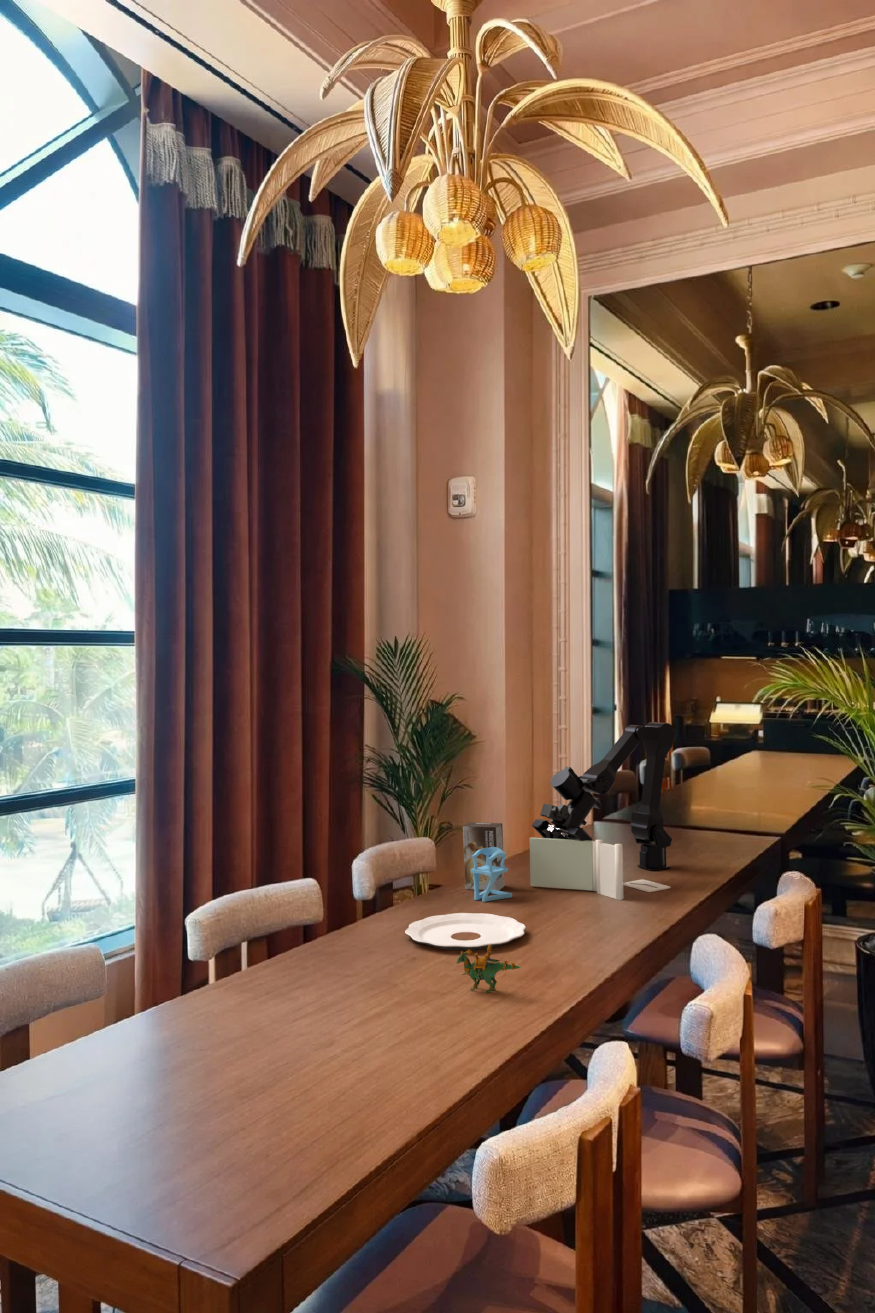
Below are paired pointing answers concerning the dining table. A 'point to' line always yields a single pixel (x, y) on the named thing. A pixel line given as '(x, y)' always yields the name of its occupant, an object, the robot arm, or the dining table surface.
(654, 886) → the card
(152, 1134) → the dining table surface
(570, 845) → the panel
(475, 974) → the figurine
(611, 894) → the fence fixed section
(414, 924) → the plate
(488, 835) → the coffee box
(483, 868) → the chair
